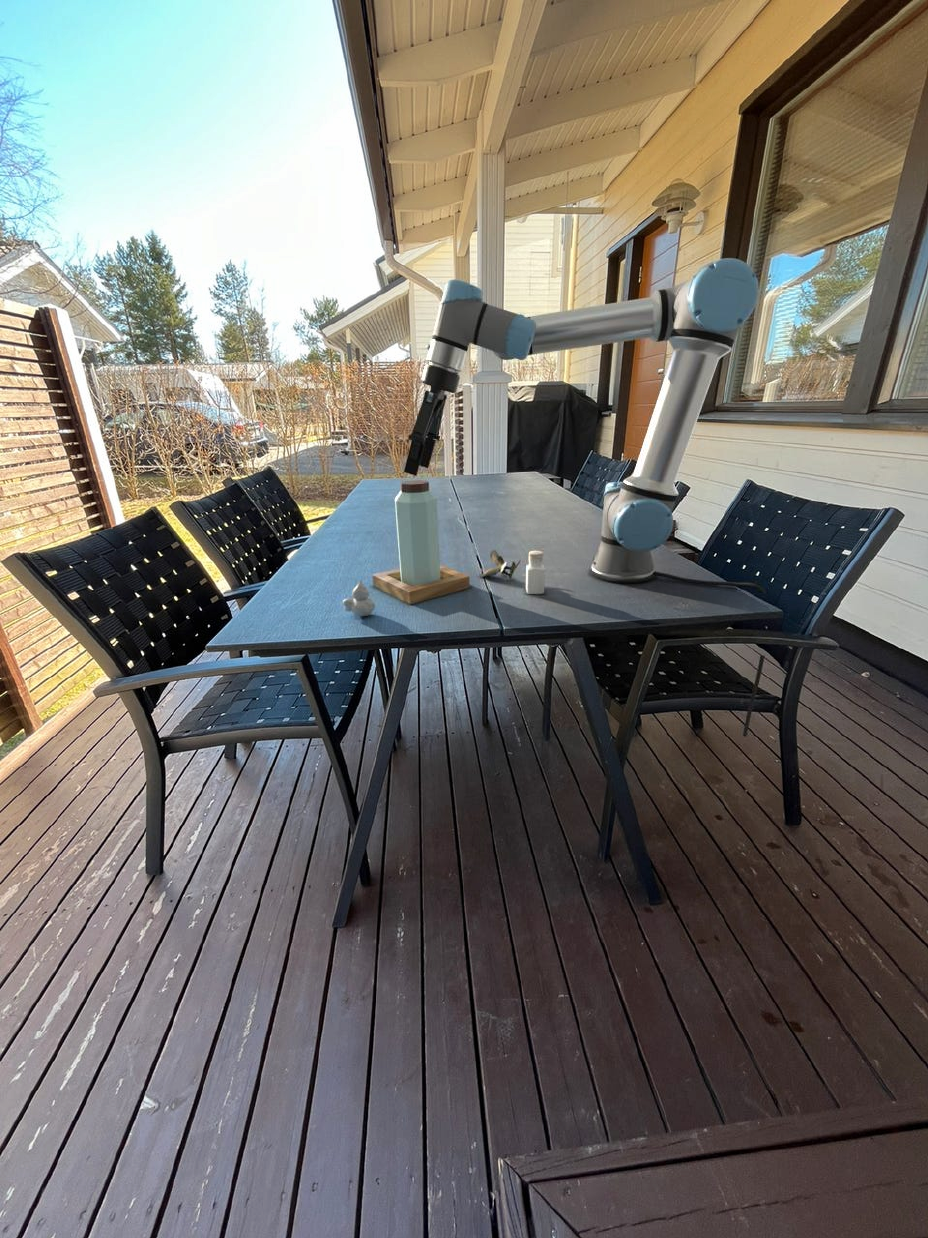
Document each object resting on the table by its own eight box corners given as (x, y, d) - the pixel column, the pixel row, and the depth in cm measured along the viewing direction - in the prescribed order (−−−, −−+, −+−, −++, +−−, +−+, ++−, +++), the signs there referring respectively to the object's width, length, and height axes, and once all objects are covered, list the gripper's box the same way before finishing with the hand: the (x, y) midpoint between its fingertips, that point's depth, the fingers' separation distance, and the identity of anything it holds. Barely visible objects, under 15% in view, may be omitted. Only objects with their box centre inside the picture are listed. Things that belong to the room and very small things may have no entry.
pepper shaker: (526, 594, 121) (527, 554, 117) (525, 589, 124) (526, 550, 121) (544, 594, 121) (545, 554, 117) (542, 589, 124) (543, 550, 121)
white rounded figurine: (375, 619, 110) (372, 582, 107) (343, 621, 109) (339, 584, 106) (376, 609, 115) (373, 574, 112) (345, 611, 114) (341, 576, 111)
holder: (469, 587, 126) (469, 576, 125) (410, 604, 117) (409, 591, 116) (430, 572, 139) (429, 561, 138) (373, 586, 130) (372, 574, 128)
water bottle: (435, 594, 123) (430, 485, 113) (394, 592, 124) (386, 485, 115) (445, 581, 132) (441, 479, 122) (407, 579, 134) (400, 479, 124)
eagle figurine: (522, 570, 135) (492, 559, 139) (519, 552, 129) (488, 541, 133) (507, 592, 132) (477, 580, 136) (504, 574, 126) (472, 562, 130)
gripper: (436, 366, 119) (412, 458, 127) (413, 357, 96) (386, 471, 105) (467, 376, 119) (441, 468, 128) (452, 370, 96) (422, 483, 105)
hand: (416, 470), depth 116 cm, fingers open, 13 cm apart
